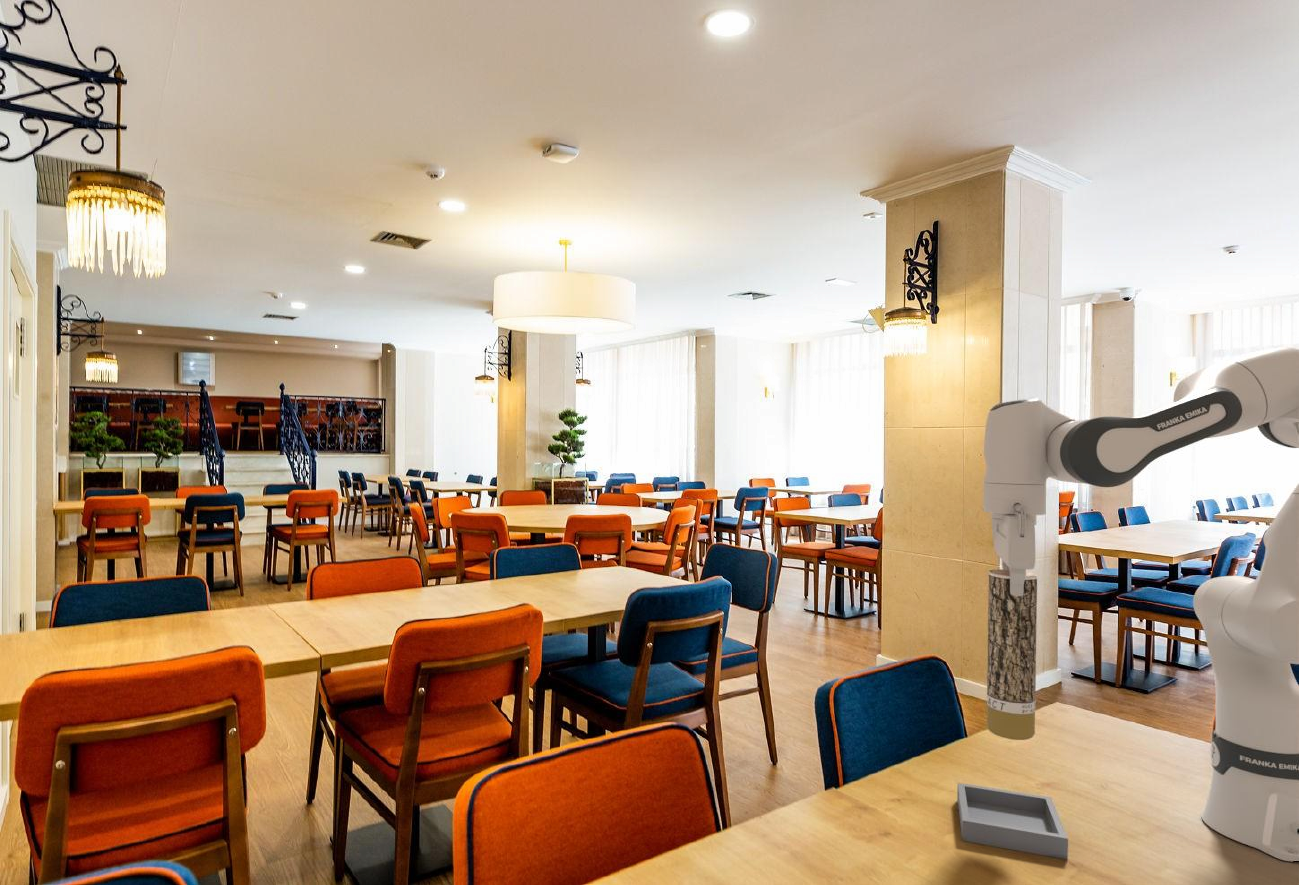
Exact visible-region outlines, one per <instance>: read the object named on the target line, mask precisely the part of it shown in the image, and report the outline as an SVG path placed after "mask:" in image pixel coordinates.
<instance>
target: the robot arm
mask: <svg viewBox="0 0 1299 885" xmlns="http://www.w3.org/2000/svg"><path fill="white" fill-rule="evenodd" d="M1173 393H1174V394H1173V402H1172V403H1169V404H1166V405H1164V406H1161V407H1158V408H1155V409H1154V410H1151V411H1148V412H1146V413H1143V414H1140V415H1137V416H1134V417H1122V416H1111V415H1110V416H1108V415H1107V416H1099V417H1094V418H1093V417H1092V418H1089V419H1080V420H1078V419H1077V420H1076V419H1075V418H1073V417H1069V416H1067V415H1064V414H1062V413H1060V412H1058V411H1056V410H1054V409H1052V408H1051V407H1049V406H1048V405H1046V404H1045V403H1044V402H1043V401H1042V400H1041V399H1039V398H1035V397H1034V398H1033V397H1031V398H1029V397H1027V398H1022V399H1017V400H1011V401H1005V402H999V403H997V404H996V405H993V407H992V408H990V409H989V412H988V414H987V418H986V423H985V429H984V441H983V442H984V443H983V444H984V445H983V457H984V460H985V465H986V471H985V473H984V474H985V475H984V477H983V485H982V486H983V490H982V491H983V496H982V497H983V499H982V501H983V502H982V503H983V504H982V506H983V508H982V510H983V513H989V514H990V520H991V531H992V532H991V533H992V542H993V548H994V551H995V553H996V555H998V557H999V558H1000V559H1001V567H1002V568H1001V569H1002V570H1009V572H1010V582H1009V592H1010V594H1011V595H1013V596H1022V595H1023V593H1024V581H1025V576H1026V572H1027V570H1032V571H1033V570H1034V569H1035V567H1036V527H1035V525H1037V516H1043V515H1046V513H1047V512H1046V510H1047V509H1046V508H1047V480H1048V479H1049V478H1051V479H1054V480H1057V481H1060V482H1067V483H1074V484H1075V483H1076V484H1086V485H1091V486H1095V487H1099V488H1100V487H1101V488H1114V487H1119V486H1122V485H1124V484H1126V483H1128V482H1130V481H1131V480H1133V479H1135V477H1137V476H1138V475H1139V474H1140V473H1141V472H1142V471H1143V470H1144V469H1145V468H1147V466H1148V465H1150V464H1151V463H1152V462H1154V461H1155V460H1156V459H1158V458H1161V457H1163V456H1165V455H1167V454H1169V453H1172V452H1174V451H1178V450H1179V449H1182V448H1185V447H1187V446H1190V445H1192V444H1195V443H1197V442H1200V441H1203V440H1205V439H1213V438H1219V437H1225V436H1229V435H1234V434H1237V433H1241V432H1244V431H1245V432H1246V431H1248V430H1251V429H1254V428H1258V430H1259V432H1260V433H1261V435H1263V436H1264V438H1266V439H1267V440H1269V441H1271V442H1273V443H1275V444H1277V445H1279V446H1282V447H1285V448H1290V449H1291V448H1292V449H1299V349H1298V348H1294V347H1287V346H1286V347H1276V348H1270V349H1264V350H1258V351H1255V352H1254V351H1253V352H1250V353H1245V354H1242V355H1238V356H1234V357H1232V358H1228V359H1225V360H1222V361H1220V362H1216V363H1213V364H1211V365H1208V366H1205V367H1203V368H1202V369H1200V370H1198V371H1195V372H1193V373H1192V374H1190V375H1188V376H1187V377H1185V378H1183V379H1181V380H1180V381H1179V382H1178V384H1177V386H1176V388H1175V389H1174V392H1173ZM1263 544H1264V548H1265V552H1264V559H1263V562H1262V566H1261V568H1260V571H1259V573H1258V575H1257V577H1256V578H1251V577H1248V576H1243V575H1223V576H1217V577H1213V578H1209V579H1208V580H1206V581H1205V582H1203V583H1201V584H1200V585H1199V587H1197V589H1196V590H1195V593H1194V595H1193V600H1192V604H1193V605H1192V606H1193V610H1194V613H1195V615H1196V617H1197V619H1198V620H1199V622H1200V624H1201V626H1202V629H1203V633H1204V636H1205V637H1204V638H1205V641H1206V645H1207V648H1208V649H1207V650H1208V654H1209V657H1210V663H1211V667H1212V671H1213V677H1214V685H1215V729H1214V730H1212V732H1211V742H1210V761H1211V762H1210V763H1211V766H1212V774H1211V783H1210V788H1209V791H1208V792H1209V793H1208V796H1207V799H1206V802H1205V806H1204V808H1203V810H1202V812H1201V819H1202V821H1203V822H1204V823H1205V824H1206V825H1207V826H1209V827H1210V828H1211V829H1212V830H1215V831H1216V832H1218V833H1219V834H1221V835H1222V836H1225V837H1227V838H1229V839H1232V840H1234V841H1237V842H1238V843H1241V844H1244V845H1248V846H1249V847H1252V848H1255V849H1258V850H1260V851H1262V852H1264V853H1266V854H1267V855H1270V856H1271V857H1274V858H1276V859H1279V860H1282V861H1286V862H1293V861H1299V684H1298V682H1297V679H1296V677H1295V674H1294V673H1293V672H1294V671H1293V670H1292V669H1293V668H1292V666H1291V664H1293V665H1299V483H1297V485H1296V486H1295V488H1294V489H1293V491H1292V492H1291V494H1290V495H1289V497H1288V498H1287V499H1286V501H1285V503H1283V505H1282V507H1281V508H1280V510H1279V511H1278V513H1277V515H1276V516H1275V518H1274V519H1273V521H1272V522H1271V523H1270V525H1269V526H1268V528H1267V529H1266V531H1265V532H1264V535H1263Z"/></svg>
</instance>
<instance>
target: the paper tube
mask: <svg viewBox="0 0 1299 885" xmlns="http://www.w3.org/2000/svg"><path fill="white" fill-rule="evenodd" d="M1037 576H1038V574H1037V573H1036V572H1035V573H1034V572H1029V571H1026V576H1025V581H1024V593H1023V595H1022V596H1013V595H1011V594H1010V592H1009V582H1010V572H1009V570H1003V569H1002V568H1001V569H990V570H989V573H988V602H987V603H988V608H987V609H988V611H987V612H988V613H987V614H988V616H987V666H986V667H987V668H986V669H987V674H986V675H987V677H986V678H987V679H986V680H987V681H986V686H987V687H986V727H987V729H988V731H990V733H991V734H993V735H995V736H998V737H1001V738H1003V739H1008V740H1015V741H1025V740H1026V741H1027V740H1031V739H1032V738H1033V737H1034V736H1035V732H1036V687H1037V684H1036V683H1037V682H1036V681H1037V680H1036V679H1037V677H1036V675H1037V663H1036V662H1037V625H1038V624H1037V618H1038V616H1037V614H1038V611H1037V609H1038V608H1037V607H1038V606H1037V605H1038V577H1037Z"/></svg>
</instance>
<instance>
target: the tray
mask: <svg viewBox="0 0 1299 885" xmlns="http://www.w3.org/2000/svg"><path fill="white" fill-rule="evenodd" d="M956 789H957V792H956V793H957V796H956V799H957V800H956V802H957V810H959V811H958V816H959V825H960V826H961V827H960V834H961V841H962V842H967V843H974V844H978V845H979V844H980V845H984V846H989V847H997V848H1000V849H1001V848H1002V849H1006V850H1012V851H1017V852H1018V851H1019V852H1023V853H1029V854H1034V855H1040V856H1045V857H1051V858H1055V859H1062V860H1067V861H1068V859H1069V858H1068V856H1069V855H1068V853H1069V850H1068V849H1069V847H1068V846H1069V837H1068V836H1067V833H1066V831H1065V828H1064V825H1063V823H1062V821H1061V818H1060V816H1059V813H1058V810H1057V808H1056V806H1055V803H1054V800H1053V799H1052V796H1045V795H1038V794H1031V793H1026V792H1025V793H1024V792H1020V791H1019V792H1018V791H1012V790H1006V789H999V788H994V787H988V786H981V785H976V784H968V783H961V782H957V788H956Z"/></svg>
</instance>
